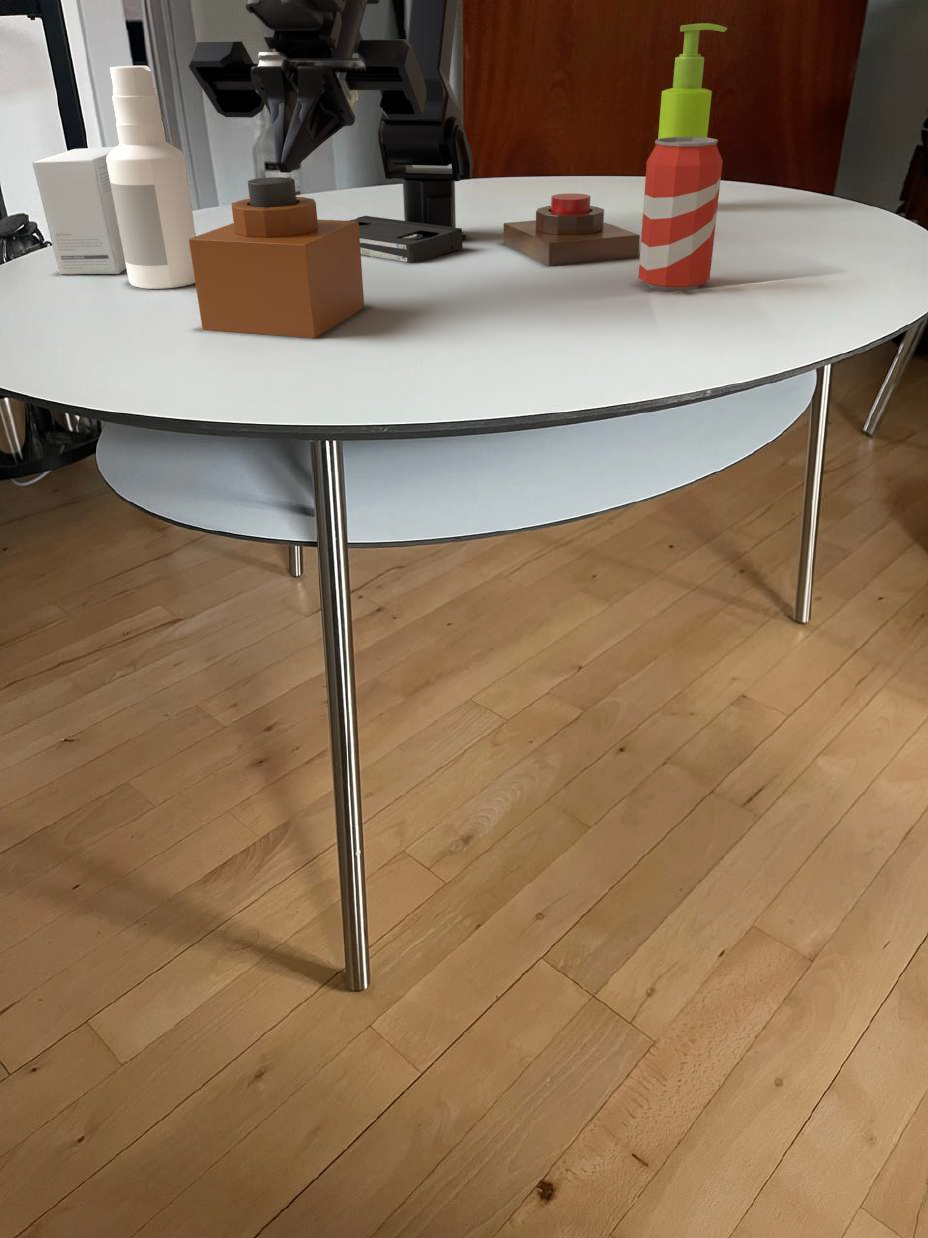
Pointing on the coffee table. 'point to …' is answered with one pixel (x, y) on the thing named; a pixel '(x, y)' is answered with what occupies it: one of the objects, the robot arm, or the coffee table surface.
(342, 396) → the coffee table surface
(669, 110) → the soap dispenser
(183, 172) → the spray bottle
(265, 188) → the dark grey button
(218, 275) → the brown push button box
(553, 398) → the coffee table surface
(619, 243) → the switch box
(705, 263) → the beverage can
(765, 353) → the coffee table surface
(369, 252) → the vhs tape
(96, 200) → the cosmetics box
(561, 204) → the red button
